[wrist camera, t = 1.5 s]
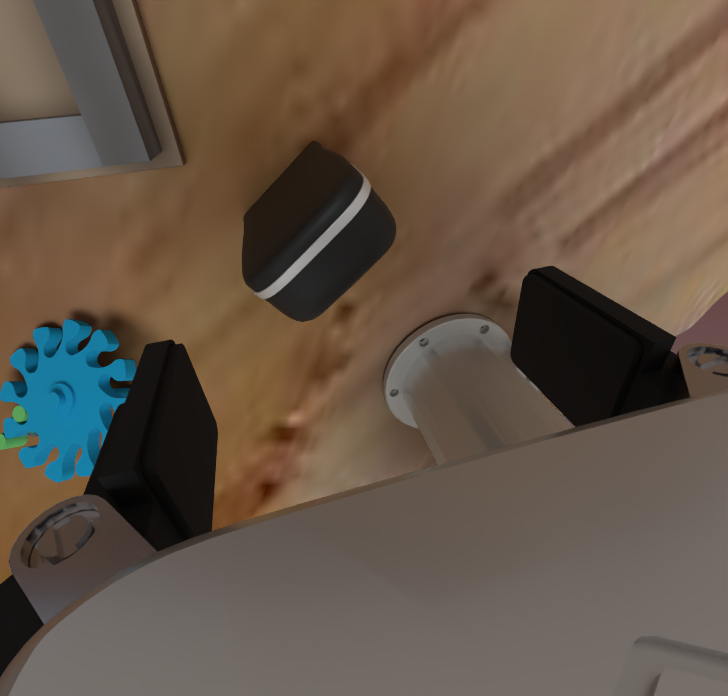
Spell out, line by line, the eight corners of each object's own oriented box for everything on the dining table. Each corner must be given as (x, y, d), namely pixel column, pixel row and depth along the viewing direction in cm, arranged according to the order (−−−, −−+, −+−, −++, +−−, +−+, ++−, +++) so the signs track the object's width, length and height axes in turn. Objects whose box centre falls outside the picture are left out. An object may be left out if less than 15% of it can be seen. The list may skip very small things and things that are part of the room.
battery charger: (283, 258, 27) (305, 348, 18) (238, 219, 25) (236, 297, 15) (357, 183, 25) (422, 238, 16) (316, 134, 23) (364, 166, 14)
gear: (91, 290, 23) (145, 447, 22) (162, 305, 29) (208, 431, 28) (-41, 366, 25) (1, 515, 24) (51, 366, 31) (89, 487, 30)
